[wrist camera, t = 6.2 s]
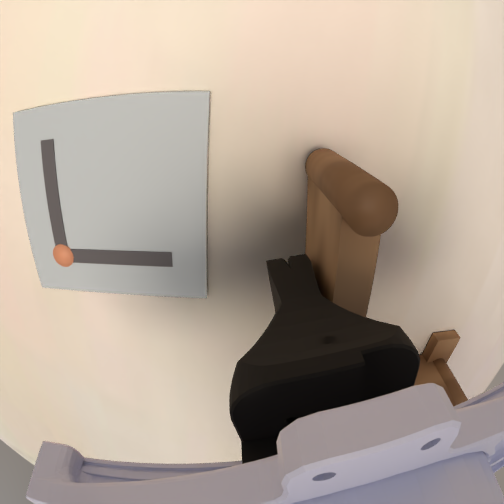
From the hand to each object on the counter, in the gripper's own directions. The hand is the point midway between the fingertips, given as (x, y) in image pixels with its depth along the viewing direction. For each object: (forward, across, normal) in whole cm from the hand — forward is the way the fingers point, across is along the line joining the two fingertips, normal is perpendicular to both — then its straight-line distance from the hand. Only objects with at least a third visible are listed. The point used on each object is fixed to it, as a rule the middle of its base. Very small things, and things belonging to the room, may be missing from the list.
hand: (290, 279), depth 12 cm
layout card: (+2, +7, -4) cm, 8 cm away
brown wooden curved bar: (+1, -1, +2) cm, 3 cm away
